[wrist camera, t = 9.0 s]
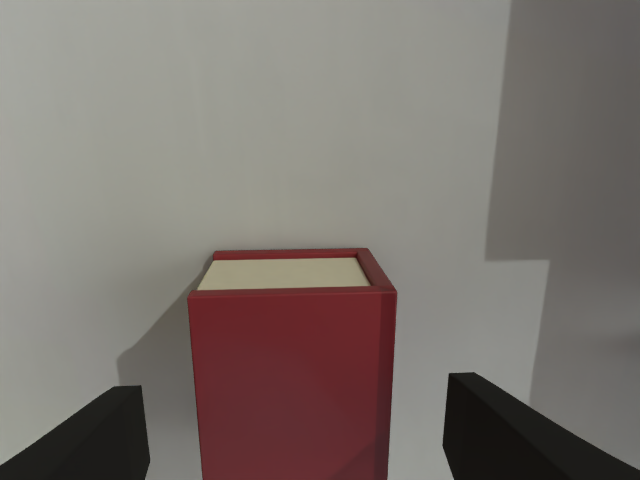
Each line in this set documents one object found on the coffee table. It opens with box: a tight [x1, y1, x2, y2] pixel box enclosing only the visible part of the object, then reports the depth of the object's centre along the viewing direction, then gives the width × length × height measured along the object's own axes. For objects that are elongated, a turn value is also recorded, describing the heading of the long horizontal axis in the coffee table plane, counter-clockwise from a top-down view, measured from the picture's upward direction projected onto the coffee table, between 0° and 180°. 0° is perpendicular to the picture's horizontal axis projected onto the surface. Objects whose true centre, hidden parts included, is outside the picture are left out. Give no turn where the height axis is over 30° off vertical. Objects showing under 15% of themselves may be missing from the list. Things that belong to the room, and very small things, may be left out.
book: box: [187, 248, 397, 480], centre depth 11 cm, size 6×4×3 cm
